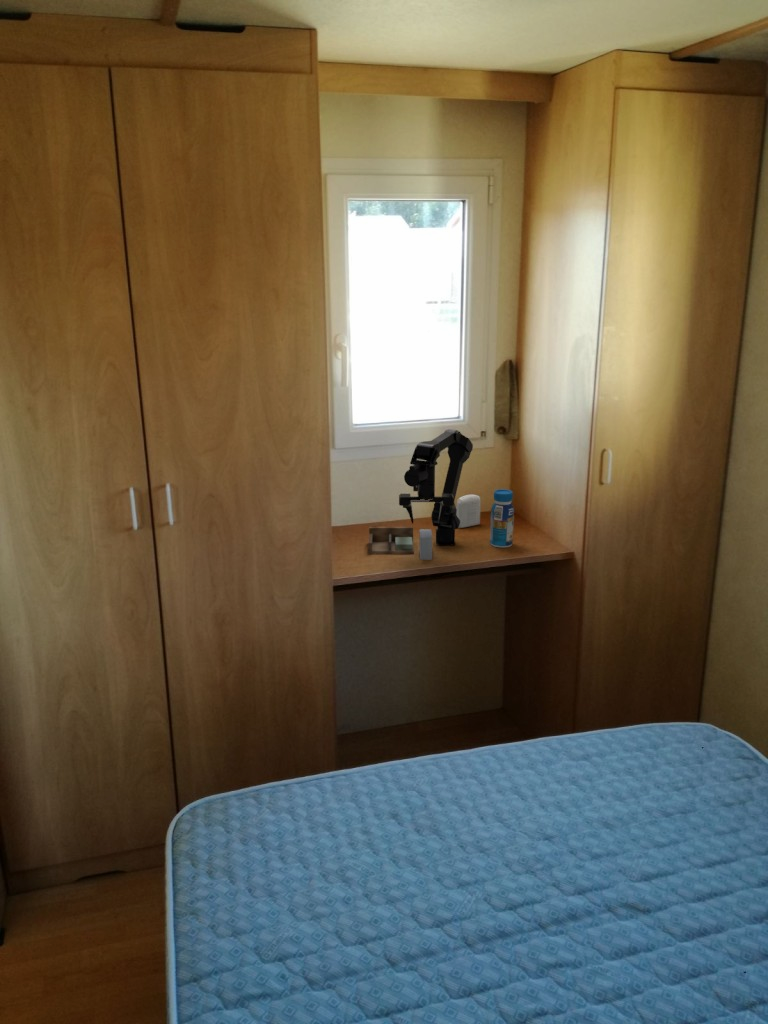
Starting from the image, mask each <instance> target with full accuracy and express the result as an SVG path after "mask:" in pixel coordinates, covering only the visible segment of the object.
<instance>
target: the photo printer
mask: <svg viewBox="0 0 768 1024" xmlns="http://www.w3.org/2000/svg"><path fill="white" fill-rule="evenodd" d="M481 501H482V500H481V497H480V496H479V495H478V494H477V495H476V494H466V495H463V496H460V497H459V498H457V500H456V504H455V506H456V510H457V512H456V515H457V517H458V518H459V520H460V525H459V527H458V529H461V528H467V527H473V526H477V525H480V523H481V507H482V506H481V505H482V503H481Z"/></svg>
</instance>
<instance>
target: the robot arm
mask: <svg viewBox="0 0 768 1024" xmlns="http://www.w3.org/2000/svg"><path fill="white" fill-rule="evenodd" d="M446 448H447V455H448V458H449V464H448V469H447V472H446V477H445V481H444V485H443V490H442V493H441V496H435V495H436V494H435V492H436V488H435V487H436V466H437V465H438V461H437V460H438V458H439V457H440V456H441V452H442V451H444V450H445V449H446ZM473 448H474V444H473V442H472V441H471V440H470V438H468V437H467V436H465V435H464V434H463V433H461V431H460V430H456V429H448V428H447V429H446V430H445V431H444V432H443V433H441V434H440V435H438V436H436V437H435V438H433V439H432V440H428V441H422V442H419V443H417V444H416V446H415V448H414V451H413V454H412V457H411V459H410V465H409V469H408V470H406V472H405V474H404V475H403V479H404V482H405V484H406V485H407V486H408V487H412V488H413V489H412V491H413V492H417V496H411V493H400V494H398V505H399V506H400V507H401V506H402V508H403V509H406V512H407V513H408V516H409V518H410V521H411V524H412V525H413V524H414V513H413V505H412V503H433V509H432V511H431V516H430V517H431V521H432V525H433V527H436V528H435V542H436V545H438V546H456V541H455V540H456V538H455V537H456V530H457V529H458V530H459V528H458V527H459V525H460V520H459V518H458V517H457V515H456V512H457V510H456V503H455V500H456V495H457V491H458V487H459V483H460V478H461V474H462V469H463V465H464V464H465V463H466V462H467V461H468V460H469V459H470V455H471V452H472V451H473Z"/></svg>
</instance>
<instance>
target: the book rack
mask: <svg viewBox="0 0 768 1024" xmlns="http://www.w3.org/2000/svg"><path fill="white" fill-rule="evenodd" d="M368 529H369V530H368V555H414V554H415V548H414V547H415V546H414V526H369V527H368Z"/></svg>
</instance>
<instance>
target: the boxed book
mask: <svg viewBox="0 0 768 1024" xmlns="http://www.w3.org/2000/svg"><path fill="white" fill-rule="evenodd" d="M432 534H433V533H432V529H431V528H430V529H429V528H428V529H427V528H426V529H422V528H421V529H419V538H418V539H419V542H418V543H419V550H418V552H419V559H420V560H421V561H424V560H425V561H426V560H427V561H428V560H430V561H431V560H433V535H432Z"/></svg>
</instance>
